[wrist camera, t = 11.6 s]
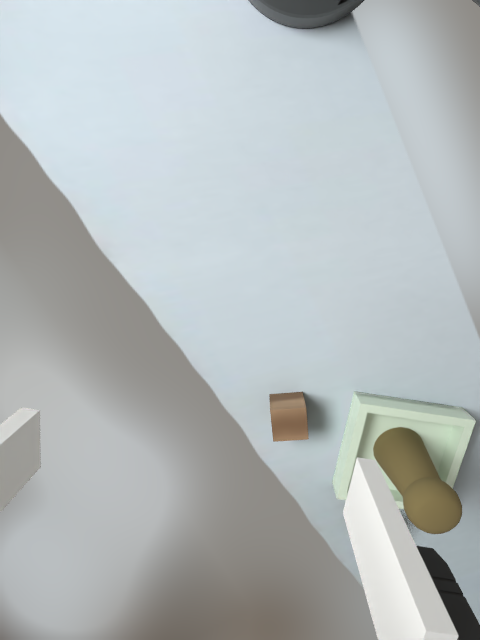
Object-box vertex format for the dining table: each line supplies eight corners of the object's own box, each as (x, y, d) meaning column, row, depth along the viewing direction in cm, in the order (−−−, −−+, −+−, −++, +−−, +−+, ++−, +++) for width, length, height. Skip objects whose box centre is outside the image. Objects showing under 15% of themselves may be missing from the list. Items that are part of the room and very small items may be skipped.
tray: (354, 391, 45) (360, 403, 42) (462, 407, 45) (476, 420, 42) (332, 482, 49) (336, 498, 46) (432, 497, 48) (443, 515, 46)
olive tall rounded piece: (418, 421, 45) (467, 485, 34) (428, 463, 46) (478, 537, 35) (368, 434, 45) (400, 500, 35) (379, 475, 47) (413, 550, 36)
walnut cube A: (269, 394, 46) (270, 410, 42) (302, 391, 46) (306, 407, 42) (272, 423, 47) (273, 441, 43) (304, 421, 47) (308, 439, 43)
